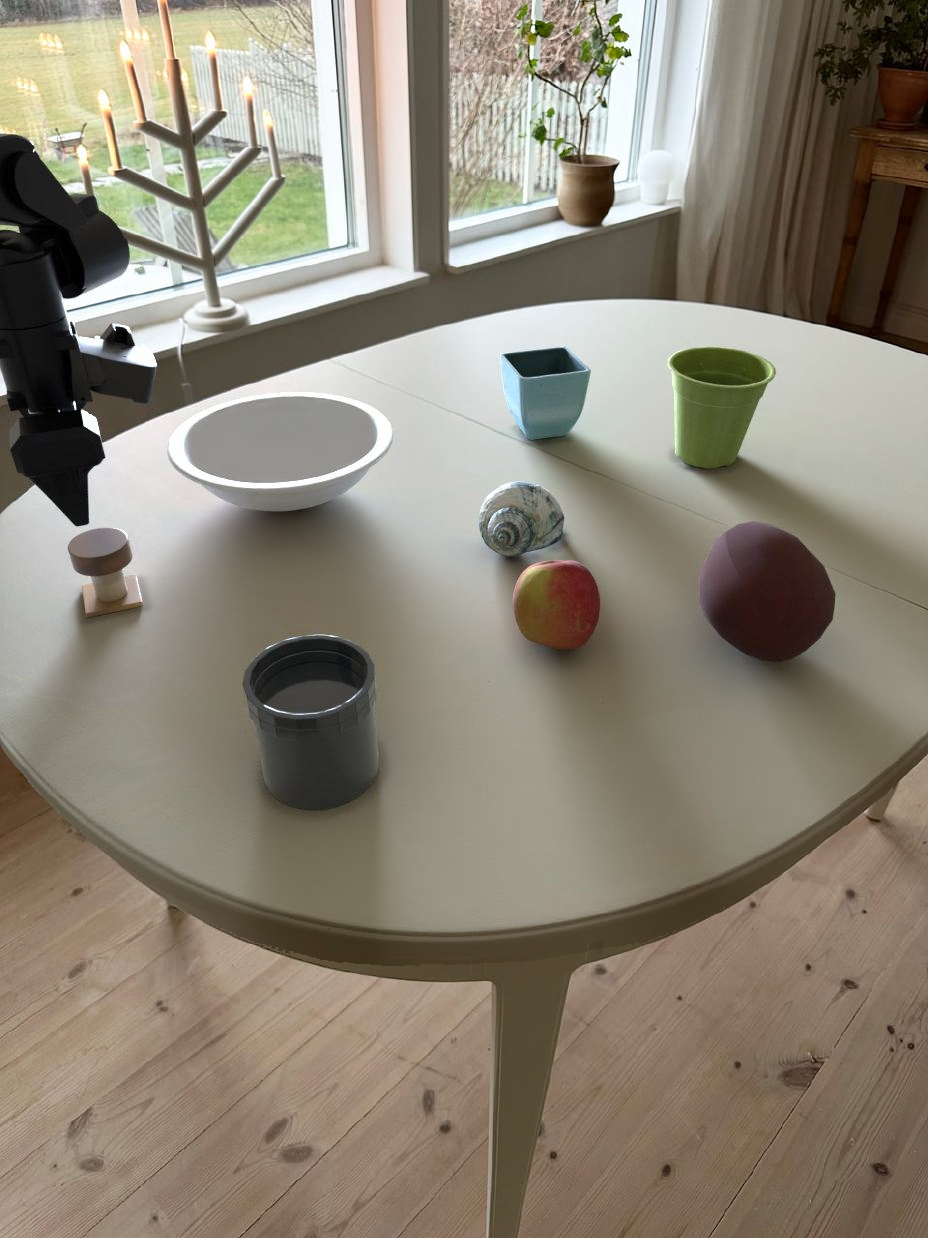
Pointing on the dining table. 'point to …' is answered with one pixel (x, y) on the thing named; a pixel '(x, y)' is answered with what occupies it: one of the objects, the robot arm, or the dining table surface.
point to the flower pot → (544, 390)
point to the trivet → (103, 607)
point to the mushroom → (102, 560)
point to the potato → (765, 592)
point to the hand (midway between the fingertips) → (78, 499)
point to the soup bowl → (281, 449)
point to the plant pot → (715, 401)
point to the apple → (557, 604)
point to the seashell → (520, 519)
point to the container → (314, 720)
